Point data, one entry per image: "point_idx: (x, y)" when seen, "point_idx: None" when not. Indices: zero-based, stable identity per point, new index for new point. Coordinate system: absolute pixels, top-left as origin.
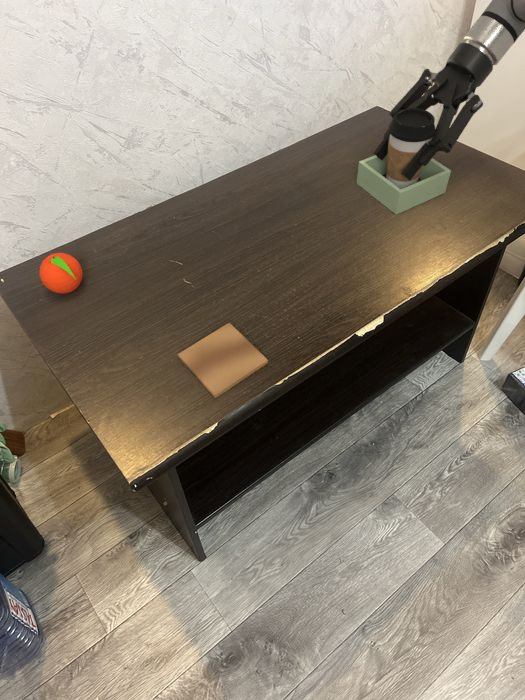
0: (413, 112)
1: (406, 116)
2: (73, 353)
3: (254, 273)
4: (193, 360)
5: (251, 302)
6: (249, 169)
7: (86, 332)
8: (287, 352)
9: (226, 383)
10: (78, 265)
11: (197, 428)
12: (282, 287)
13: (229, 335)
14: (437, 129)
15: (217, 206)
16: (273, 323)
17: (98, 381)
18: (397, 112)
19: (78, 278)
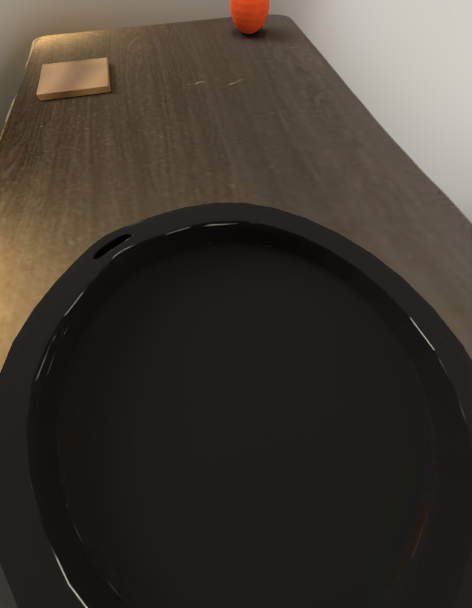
0: (442, 530)
1: (378, 401)
2: (169, 29)
3: (167, 123)
4: (90, 62)
5: (125, 111)
6: (427, 182)
7: (185, 35)
8: (35, 114)
9: (45, 71)
10: (245, 2)
11: (33, 60)
12: (122, 136)
13: (92, 82)
14: (2, 595)
15: (328, 127)
16: (80, 116)
17: (129, 35)
18: (424, 308)
19: (235, 12)
